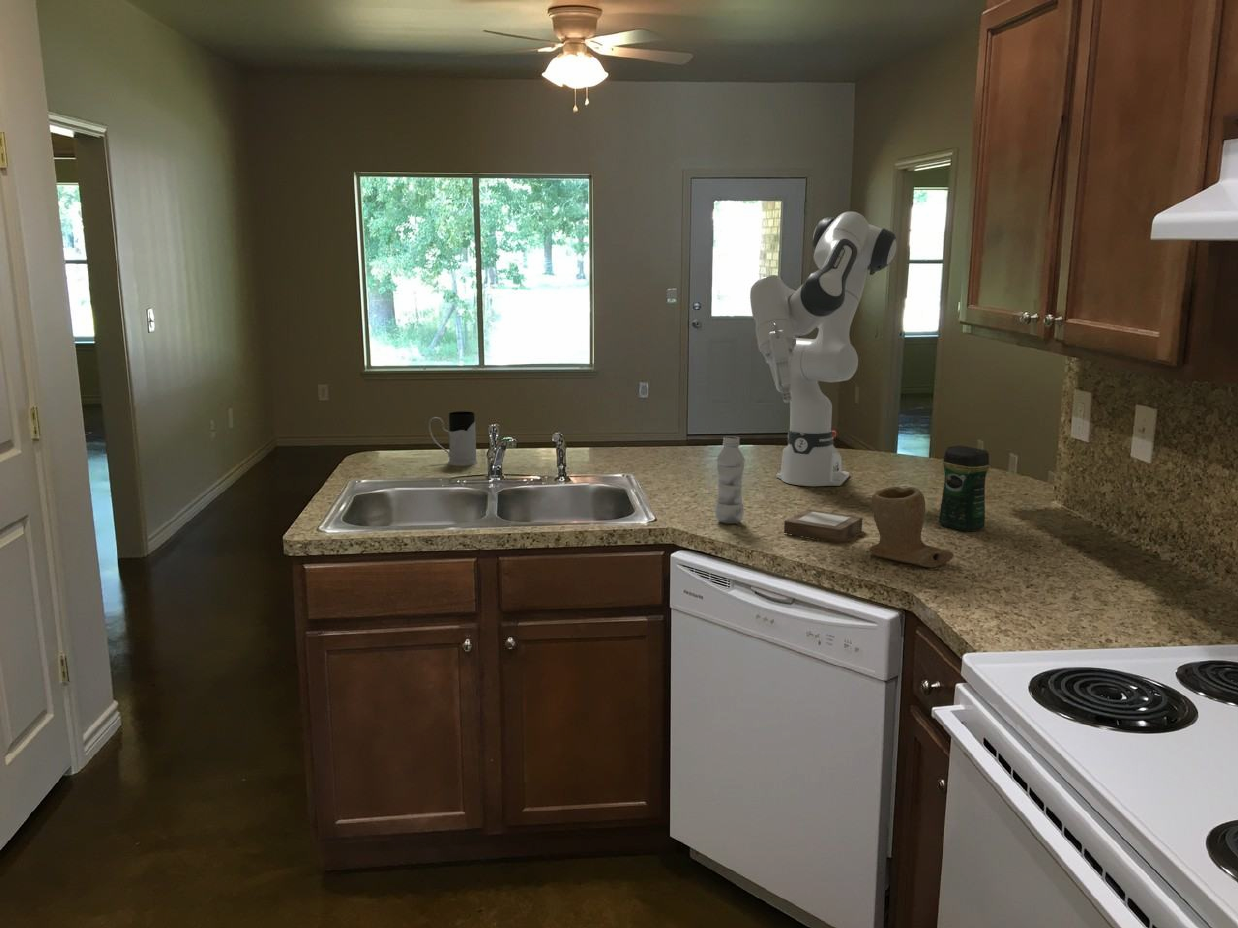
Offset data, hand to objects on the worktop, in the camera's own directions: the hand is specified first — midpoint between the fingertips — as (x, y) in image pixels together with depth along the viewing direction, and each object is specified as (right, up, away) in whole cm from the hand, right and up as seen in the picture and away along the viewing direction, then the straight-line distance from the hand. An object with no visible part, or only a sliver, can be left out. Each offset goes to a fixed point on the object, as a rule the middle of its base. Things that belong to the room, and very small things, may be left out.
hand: (787, 393), depth 222 cm
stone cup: (+19, -36, -26) cm, 48 cm away
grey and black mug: (-88, -16, +69) cm, 113 cm away
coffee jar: (+40, -31, +1) cm, 50 cm away
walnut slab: (+7, -31, -5) cm, 33 cm away
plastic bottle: (-13, -30, +3) cm, 33 cm away
